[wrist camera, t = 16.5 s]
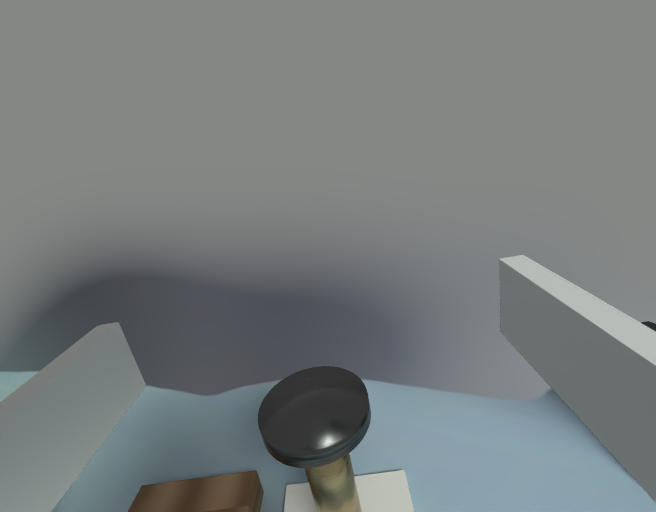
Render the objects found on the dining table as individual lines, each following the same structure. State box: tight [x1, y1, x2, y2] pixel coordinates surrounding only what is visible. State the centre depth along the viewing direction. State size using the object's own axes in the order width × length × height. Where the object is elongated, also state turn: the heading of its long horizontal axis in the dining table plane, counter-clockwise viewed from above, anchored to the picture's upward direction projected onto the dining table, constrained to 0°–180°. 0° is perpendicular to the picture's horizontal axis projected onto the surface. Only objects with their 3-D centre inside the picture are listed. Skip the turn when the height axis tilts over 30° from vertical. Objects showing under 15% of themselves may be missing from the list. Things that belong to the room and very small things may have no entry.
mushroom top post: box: [258, 366, 371, 512], centre depth 30 cm, size 9×9×18 cm
